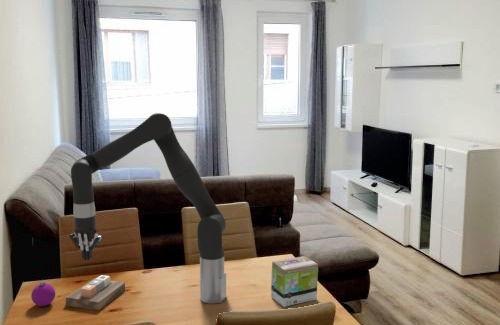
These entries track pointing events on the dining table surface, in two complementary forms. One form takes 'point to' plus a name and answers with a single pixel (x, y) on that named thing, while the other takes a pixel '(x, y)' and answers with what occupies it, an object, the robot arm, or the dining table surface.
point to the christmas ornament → (43, 294)
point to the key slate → (98, 284)
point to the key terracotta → (88, 291)
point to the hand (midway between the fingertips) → (87, 259)
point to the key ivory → (105, 279)
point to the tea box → (294, 281)
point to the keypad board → (96, 296)
